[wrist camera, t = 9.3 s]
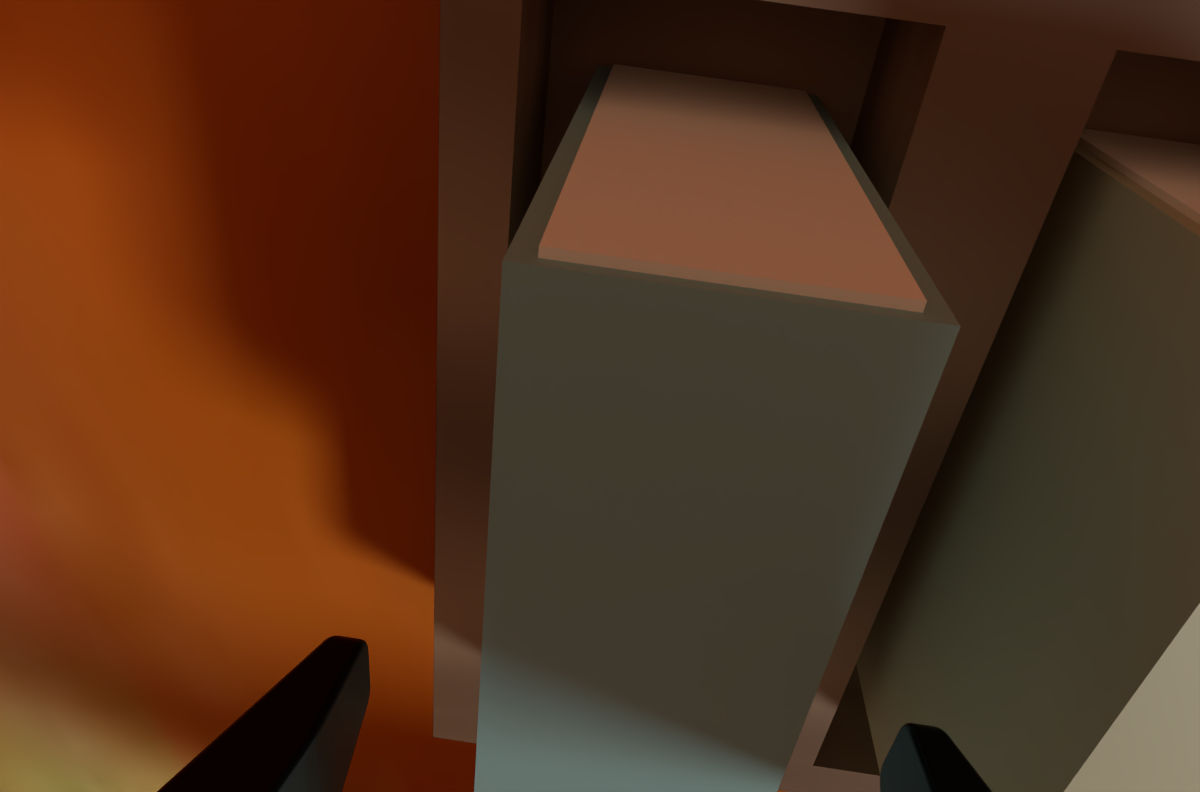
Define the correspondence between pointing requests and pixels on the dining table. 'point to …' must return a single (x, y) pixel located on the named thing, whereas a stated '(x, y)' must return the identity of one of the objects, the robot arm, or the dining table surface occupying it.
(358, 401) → the dining table surface
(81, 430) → the dining table surface
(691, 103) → the teal book
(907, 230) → the book rack
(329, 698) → the robot arm
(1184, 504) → the olive book
